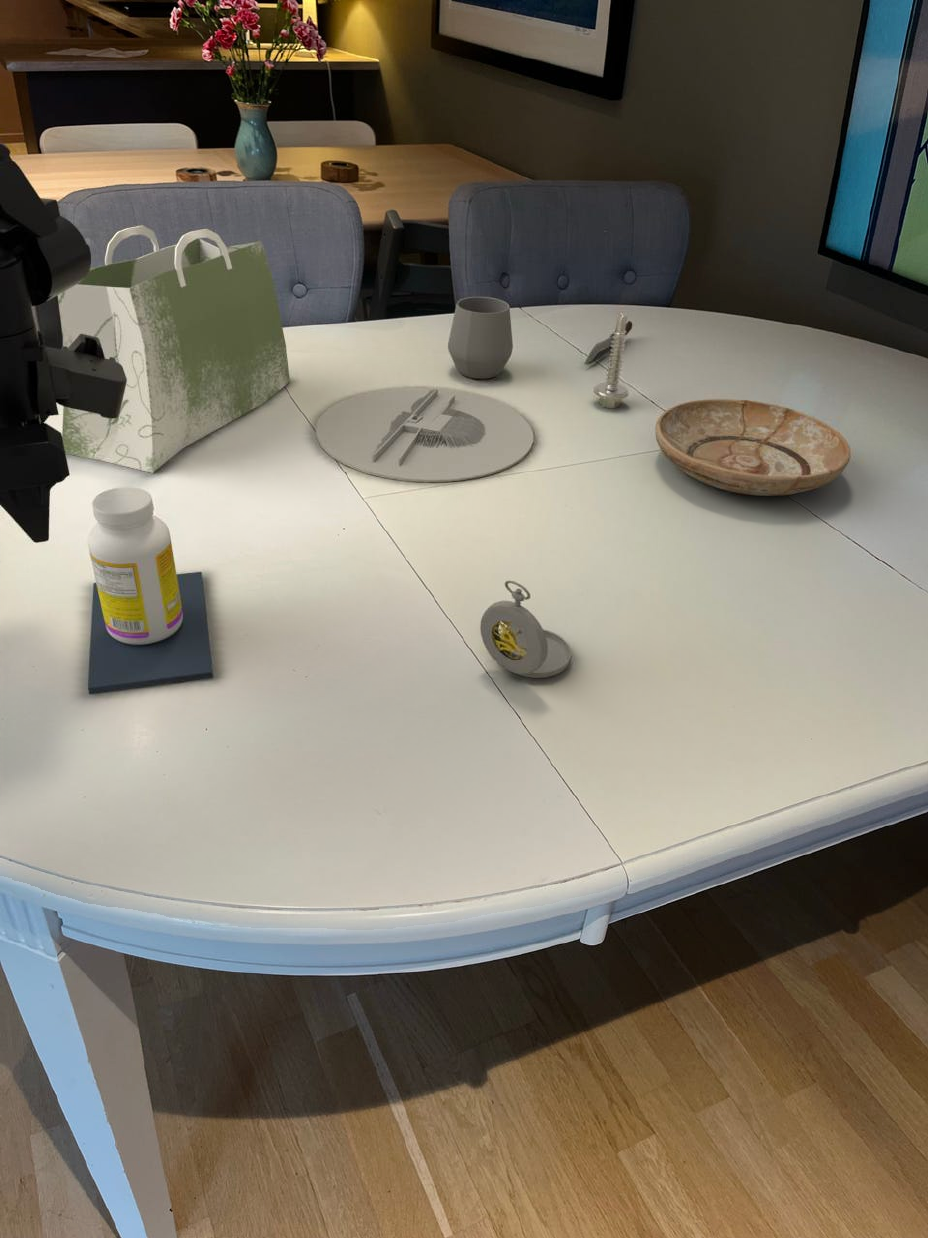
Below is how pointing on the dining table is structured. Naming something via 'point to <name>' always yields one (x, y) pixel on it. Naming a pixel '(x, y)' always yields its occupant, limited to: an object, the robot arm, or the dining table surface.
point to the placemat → (153, 647)
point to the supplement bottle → (134, 567)
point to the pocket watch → (522, 639)
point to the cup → (481, 337)
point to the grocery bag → (175, 345)
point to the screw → (614, 368)
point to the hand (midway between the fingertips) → (38, 513)
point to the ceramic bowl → (751, 446)
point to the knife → (604, 346)
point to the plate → (424, 434)
